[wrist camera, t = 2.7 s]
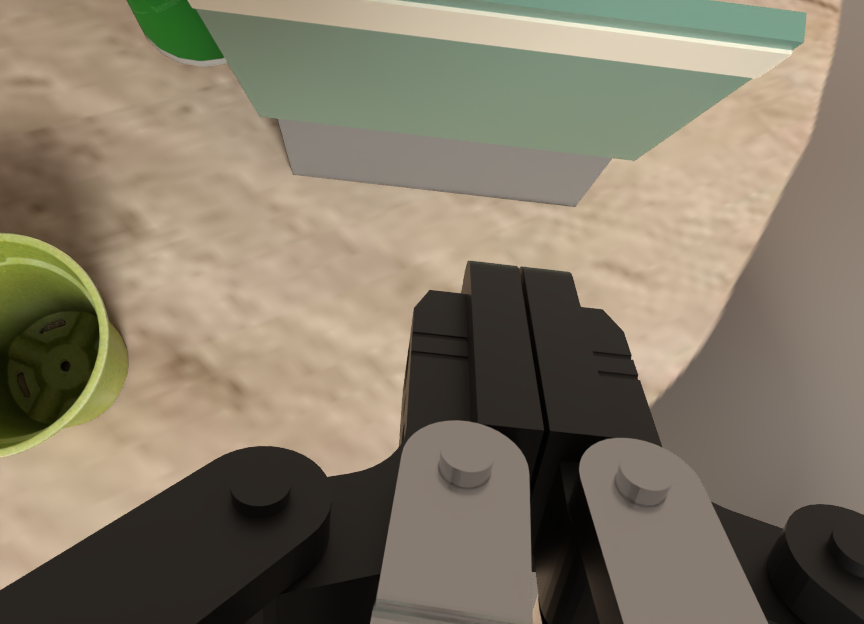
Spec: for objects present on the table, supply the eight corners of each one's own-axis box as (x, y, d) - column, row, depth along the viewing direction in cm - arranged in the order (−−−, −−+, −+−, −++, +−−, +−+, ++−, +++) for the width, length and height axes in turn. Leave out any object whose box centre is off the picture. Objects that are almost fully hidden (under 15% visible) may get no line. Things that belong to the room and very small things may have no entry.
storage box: (293, 174, 43) (272, 98, 34) (323, -47, 46) (311, -169, 37) (575, 206, 44) (625, 140, 35) (587, -12, 47) (637, -124, 38)
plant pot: (191, 411, 40) (141, 395, 32) (13, 493, 39) (-88, 500, 30) (122, 253, 42) (58, 198, 33) (-51, 327, 40) (-165, 289, 32)
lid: (261, 98, 34) (259, 119, 34) (170, -71, 20) (166, -35, 20) (636, 143, 35) (634, 163, 35) (806, 12, 21) (803, 46, 21)
